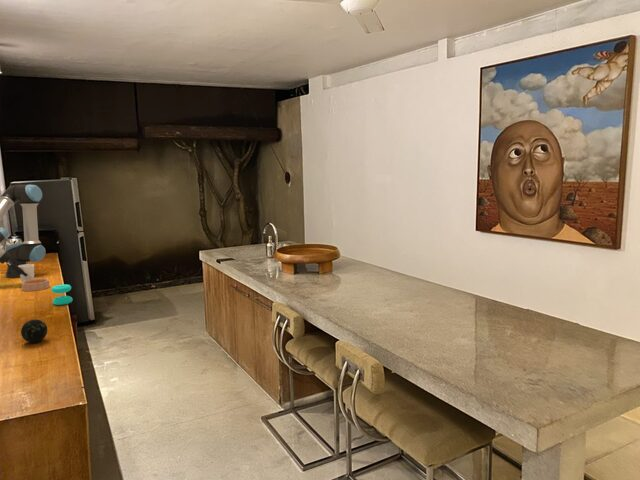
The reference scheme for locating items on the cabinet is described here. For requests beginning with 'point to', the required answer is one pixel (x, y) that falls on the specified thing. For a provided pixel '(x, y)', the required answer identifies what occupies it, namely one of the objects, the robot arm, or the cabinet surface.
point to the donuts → (62, 299)
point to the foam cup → (29, 269)
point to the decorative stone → (34, 331)
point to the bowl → (35, 284)
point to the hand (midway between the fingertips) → (32, 277)
